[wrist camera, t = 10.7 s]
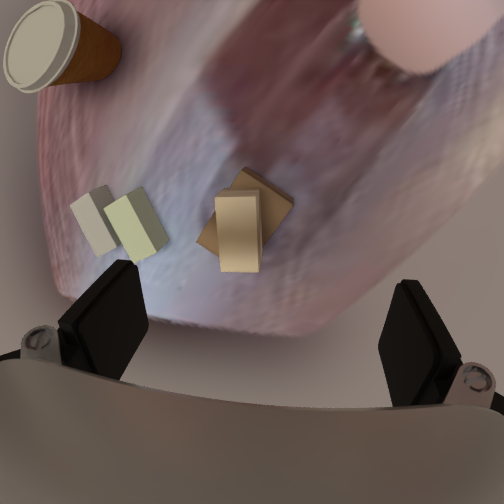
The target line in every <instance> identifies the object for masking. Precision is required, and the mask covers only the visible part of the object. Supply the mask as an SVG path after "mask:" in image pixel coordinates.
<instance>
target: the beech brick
mask: <svg viewBox="0 0 504 504" xmlns="http://www.w3.org/2000/svg"><path fill="white" fill-rule="evenodd" d="M215 210H216V222H217V234H218V245H219V257H220V267H221V272H259V268H260V264H261V259H262V225H261V197H260V187H252V188H224V189H223V190H222V191H221V192H220V193H219V194H218V195H217V196H216V197H215Z"/></svg>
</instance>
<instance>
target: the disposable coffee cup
mask: <svg viewBox="0 0 504 504" xmlns="http://www.w3.org/2000/svg"><path fill="white" fill-rule="evenodd" d="M120 56H121V43H120V41H119V39H118V38H117V37H116V36H115V35H113V34H112V33H110V32H109V31H108V30H106V29H104V28H103V27H101V26H100V25H98V24H97V23H95V22H94V21H92V20H91V19H89V18H87V17H86V16H84V15H83V14H81V13H79V12H78V11H76V9H75V7H74V6H73V4H71V3H70V2H68V1H66V0H51V1H45V2H41V3H39V4H37V5H35V6H33V7H32V8H31V9H29V10H28V11H27V12H26V13H25V14H24V15H23V16H22V18H21V19H20V20H19V21H18V23H17V24H16V25H15V27H14V29H13V31H12V33H11V35H10V37H9V39H8V42H7V45H6V49H5V53H4V64H3V65H4V73H5V76H6V79H7V81H8V82H9V83H10V84H11V85H12V86H14V87H16V88H17V89H19V90H20V91H22V92H25V93H33V92H37V91H40V90H42V89H44V88H45V87H48V86H55V85H62V84H70V83H79V82H89V81H98V80H102V79H104V78H106V77H107V76H108V75H110V74H111V73H112V72H113V70H114V69H115V68H116V66H117V64H118V62H119V60H120Z"/></svg>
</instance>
